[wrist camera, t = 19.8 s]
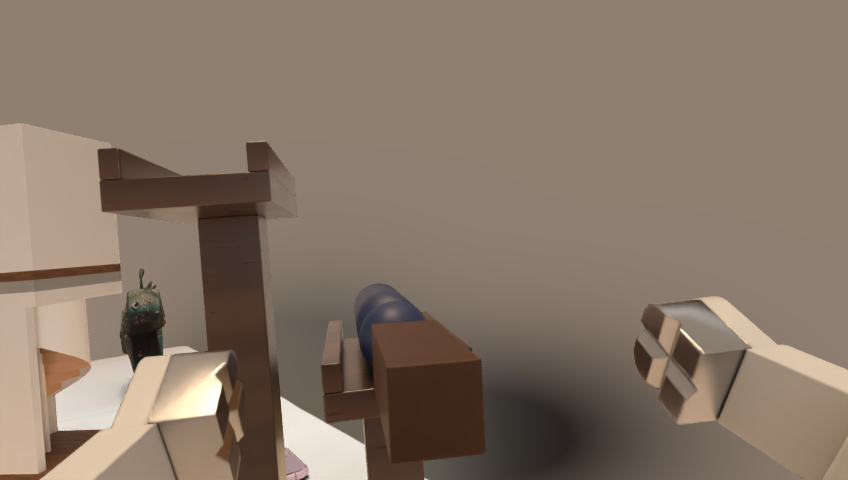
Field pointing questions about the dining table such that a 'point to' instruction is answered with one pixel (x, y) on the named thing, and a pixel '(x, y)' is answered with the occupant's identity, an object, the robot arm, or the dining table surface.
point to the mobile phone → (294, 466)
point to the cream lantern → (47, 287)
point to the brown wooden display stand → (251, 296)
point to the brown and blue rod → (420, 380)
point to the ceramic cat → (142, 323)
